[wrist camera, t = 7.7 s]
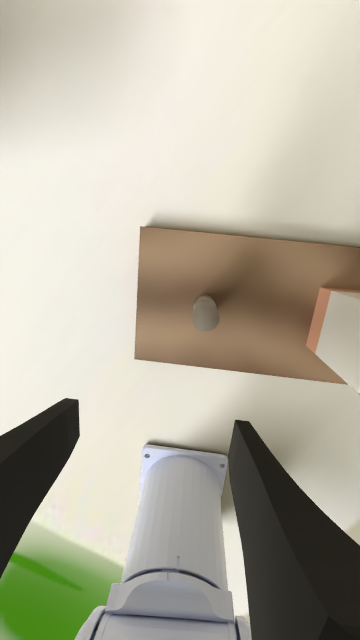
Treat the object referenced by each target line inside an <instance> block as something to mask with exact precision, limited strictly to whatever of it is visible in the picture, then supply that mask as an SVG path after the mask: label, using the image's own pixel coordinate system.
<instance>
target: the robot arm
mask: <svg viewBox="0 0 360 640" xmlns="http://www.w3.org/2000/svg"><path fill="white" fill-rule="evenodd" d="M79 436H80V433H79V402H78V400H76V399H68V398H65V399H63V400H61V401H60V402H58V403H56V404H55V405H53V406H51V407H50V408H48V409H46V410H45V411H43V412H41V413H40V414H38V415H36V416H35V417H33V418H31V419H30V420H28V421H26V422H25V423H23V424H21V425H19V426H18V427H16V428H14V429H12V430H10V431H9V432H7V433H5V434H3V435H1V436H0V578H1V576H2V574H3V572H4V570H5V568H6V566H7V564H8V562H9V560H10V558H11V556H12V554H13V552H14V550H15V548H16V546H17V545H18V543H19V541H20V539H21V537H22V535H23V533H24V531H25V529H26V527H27V526H28V524H29V522H30V520H31V519H32V517H33V515H34V513H35V512H36V510H37V509H38V507H39V505H40V504H41V502H42V501H43V499H44V497H45V496H46V494H47V493H48V491H49V490H50V488H51V486H52V485H53V483H54V482H55V480H56V479H57V477H58V475H59V474H60V472H61V471H62V469H63V467H64V466H65V464H66V462H67V461H68V459H69V457H70V455H71V453H72V451H73V449H74V447H75V445H76V443H77V441H78V439H79ZM147 454H149V455H147ZM228 460H229V474H230V483H231V489H232V494H233V500H234V505H235V510H236V516H237V521H238V527H239V532H240V537H241V543H242V550H243V556H244V566H245V575H246V585H247V594H248V605H249V616H250V625H251V627H250V625H249V624H248V621H247V619H246V618H245V617H243V616H236V618H235V621H234V611H233V601H232V593H231V591H228V584H227V572H226V561H225V549H224V538H223V527H222V515H221V504H220V502H221V497H222V492H223V486H224V481H225V476H226V471H227V466H228ZM221 464H223V465H221ZM234 622H235V623H234ZM75 640H360V546H359V545H358V544H357V543H356V542H355V541H354V540H353V539H351V538H350V537H349V536H348V535H347V534H346V533H345V532H344V531H343V530H342V529H341V528H340V527H338V526H337V525H336V524H335V523H334V522H333V521H332V520H331V519H330V518H329V517H328V516H327V515H326V514H325V513H324V512H323V511H322V510H321V509H320V508H319V507H318V506H317V505H316V504H315V503H314V502H313V501H312V500H311V499H310V498H309V497H308V496H307V495H306V494H305V493H304V492H303V491H302V489H301V488H300V487H299V486H298V485H297V484H296V483H295V482H294V480H293V479H292V478H291V477H290V476H289V474H288V473H287V472H286V471H285V470H284V468H283V467H282V466H281V465H280V463H279V462H278V461H277V459H276V458H275V457H274V456H273V454H272V453H271V452H270V450H269V449H268V448H267V446H266V445H265V443H264V442H263V441H262V439H261V438H260V436H259V435H258V434H257V432H256V431H255V429H254V428H253V426H252V425H251V424H250V422H249V421H241V420H235V423H234V429H233V434H232V439H231V444H230V449H229V455H228V457H227V456H226V455H223V454H216V453H208V452H201V451H193V450H186V449H178V448H171V447H163V446H156V445H144V446H143V450H142V462H141V478H140V495H139V505H138V510H137V514H136V518H135V523H134V527H133V531H132V536H131V540H130V544H129V549H128V553H127V557H126V562H125V566H124V570H123V575H122V579H121V583H113V584H112V587H111V590H110V594H109V597H108V601H107V605H106V606H99V607H97V608H95V609H94V611H93V612H92V613H91V615H90V616H89V618H88V619H87V620H86V622H85V623H84V624H83V625H82V627H81V629H80V630H79V632H78V634H77V636H76V638H75Z"/></svg>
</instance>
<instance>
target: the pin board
mask: <svg viewBox="0 0 360 640" xmlns="http://www.w3.org/2000/svg"><path fill="white" fill-rule="evenodd" d="M320 287H324V288H336V289H349V290H360V247H349V246H339V245H329V244H318V243H308V242H297V241H287V240H277V239H266V238H256V237H245V236H235V235H225V234H214V233H204V232H193V231H183V230H173V229H162V228H152V227H142V226H140V245H139V268H138V290H137V313H136V336H135V359H138V360H146V361H155V362H163V363H171V364H180V365H188V366H197V367H205V368H213V369H222V370H230V371H239V372H247V373H255V374H264V375H272V376H281V377H289V378H297V379H306V380H314V381H323V382H331V383H339V384H348V383H346V382H345V381H344V380H343V379H342V378H341V377H340V376H339V375H338V374H337V373H335V372H334V371H333V370H332V369H331V368H330V367H329V366H328V365H327V364H326V363H324V362H323V361H322V360H321V359H320V358H319V357H318V356H317V355H316V354H315V353H313V352H312V351H311V350H310V349H309V348H308V347H307V346H306V343H307V339H308V335H309V331H310V327H311V323H312V318H313V314H314V310H315V306H316V302H317V298H318V294H319V289H320ZM348 385H349V384H348Z"/></svg>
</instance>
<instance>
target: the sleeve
mask: <svg viewBox="0 0 360 640" xmlns="http://www.w3.org/2000/svg"><path fill="white" fill-rule="evenodd" d="M306 346H307V347H308V348H309V349H310V350H311V351H312V352H313V353H315V354H316V355H317V356H318V357H319V358H320V359H321V360H322V361H323V362H324V363H326V364H327V365H328V366H329V367H330V368H331V369H332V370H333V371H334V372H335V373H337V374H338V375H339V376H340V377H341V378H342V379H343V380H344V381H345V382H346V383H348V384H349V385H350V386H351V387H352V388H353V389H354V390H355V391H356V392H357V393H359V394H360V290H349V289H336V288H324V287H320V289H319V294H318V298H317V302H316V306H315V310H314V314H313V318H312V323H311V327H310V331H309V335H308V339H307V343H306Z"/></svg>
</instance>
